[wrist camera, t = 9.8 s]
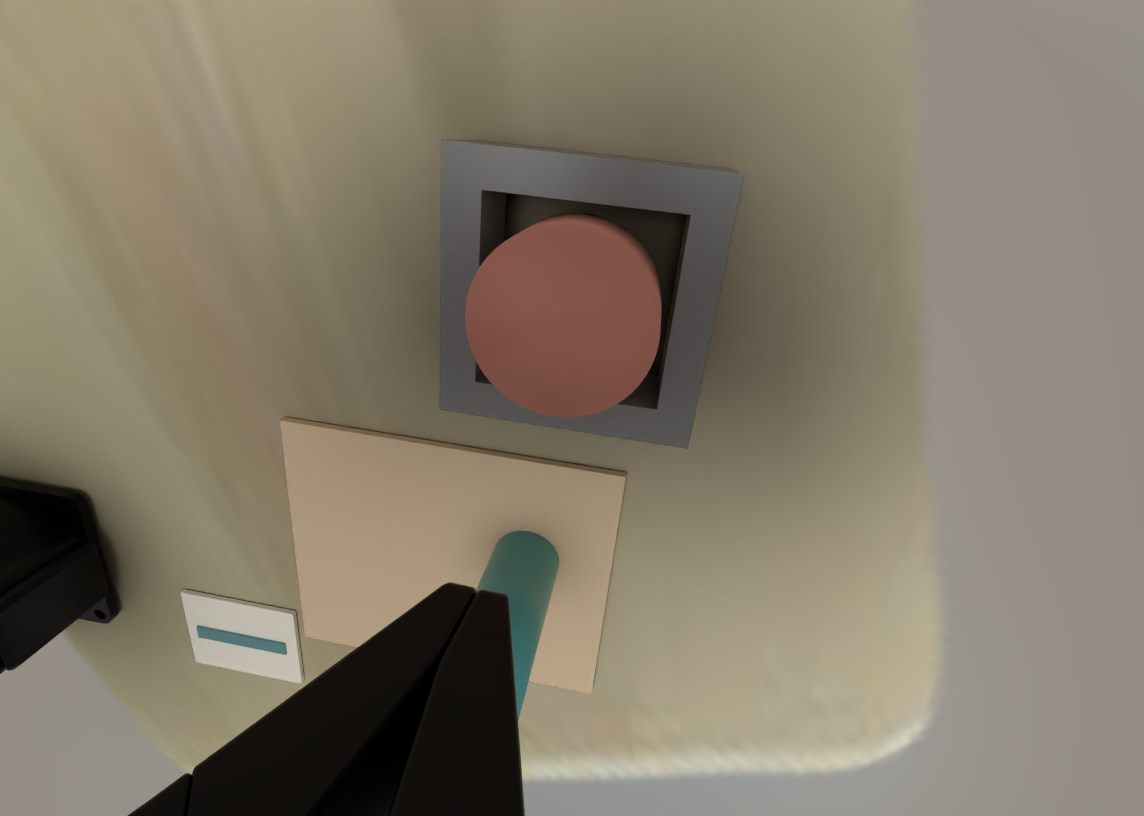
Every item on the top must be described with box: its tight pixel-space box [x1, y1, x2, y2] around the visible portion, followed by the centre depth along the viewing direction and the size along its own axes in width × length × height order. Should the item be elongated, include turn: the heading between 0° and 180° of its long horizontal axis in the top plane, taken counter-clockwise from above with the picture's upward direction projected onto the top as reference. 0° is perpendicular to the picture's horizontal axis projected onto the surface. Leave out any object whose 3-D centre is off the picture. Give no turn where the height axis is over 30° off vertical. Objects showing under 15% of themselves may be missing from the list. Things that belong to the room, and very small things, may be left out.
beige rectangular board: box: [280, 417, 626, 694], centre depth 22 cm, size 12×10×1 cm
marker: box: [476, 531, 559, 719], centre depth 18 cm, size 2×2×8 cm
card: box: [180, 589, 304, 684], centre depth 26 cm, size 5×4×1 cm
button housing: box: [440, 140, 744, 449], centre depth 16 cm, size 7×7×2 cm
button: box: [465, 212, 662, 418], centre depth 14 cm, size 4×4×2 cm
